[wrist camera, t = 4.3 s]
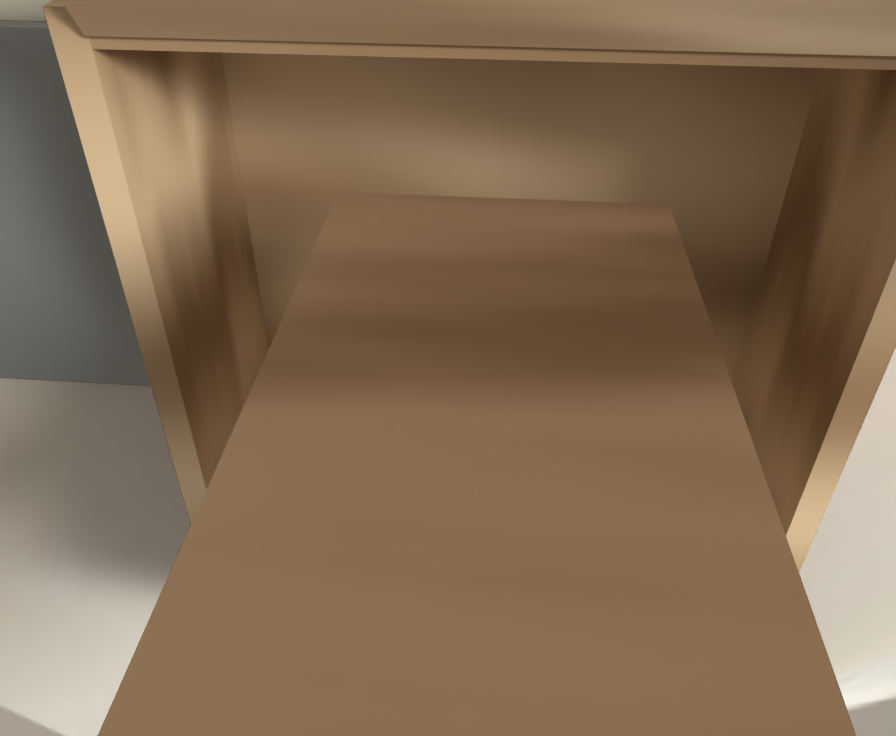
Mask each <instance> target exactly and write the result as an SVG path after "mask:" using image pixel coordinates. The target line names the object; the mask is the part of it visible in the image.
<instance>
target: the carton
mask: <svg viewBox="0 0 896 736" xmlns="http://www.w3.org/2000/svg"><path fill="white" fill-rule="evenodd" d="M43 10H44V13H45V17H46V20H47V24H48V27H49V31H50V34H51V38H52V41H53V45H54V48H55V52H56V55H57V59H58V62H59V66H60V69H61V73H62V76H63V80H64V83H65V87H66V90H67V94H68V97H69V101H70V104H71V108H72V111H73V115H74V118H75V122H76V125H77V129H78V132H79V136H80V139H81V143H82V146H83V150H84V153H85V157H86V160H87V164H88V167H89V171H90V174H91V178H92V181H93V185H94V188H95V191H96V195H97V198H98V202H99V205H100V209H101V212H102V216H103V219H104V223H105V226H106V230H107V233H108V237H109V240H110V244H111V247H112V251H113V254H114V258H115V261H116V265H117V268H118V272H119V275H120V279H121V282H122V286H123V289H124V293H125V296H126V300H127V303H128V307H129V310H130V314H131V317H132V321H133V324H134V328H135V331H136V335H137V338H138V342H139V345H140V349H141V352H142V356H143V359H144V363H145V366H146V370H147V373H148V377H149V380H150V384H151V387H152V391H153V394H154V398H155V401H156V405H157V408H158V412H159V415H160V419H161V422H162V426H163V429H164V433H165V436H166V440H167V443H168V447H169V450H170V454H171V457H172V461H173V464H174V468H175V471H176V475H177V478H178V482H179V485H180V489H181V492H182V496H183V499H184V503H185V506H186V510H187V513H188V517H189V520H190V524H192V521H193V519H194V517H195V515H196V512H197V510H198V508H199V506H200V503H201V501H202V499H203V497H204V494H205V492H206V490H207V488H208V485H209V483H210V481H211V478H212V476H213V474H214V472H215V469H216V467H217V465H218V463H219V460H220V458H221V456H222V454H223V451H224V449H225V447H226V445H227V442H228V440H229V438H230V435H231V433H232V431H233V429H234V426H235V424H236V422H237V420H238V417H239V415H240V413H241V411H242V408H243V406H244V404H245V402H246V399H247V397H248V395H249V393H250V390H251V388H252V386H253V383H254V381H255V379H256V377H257V374H258V372H259V370H260V368H261V365H262V363H263V361H264V359H265V356H266V354H267V352H268V350H269V347H270V345H271V343H272V340H273V338H274V336H275V334H276V331H277V329H278V327H279V325H280V322H281V320H282V318H283V316H284V313H285V311H286V309H287V307H288V304H289V302H290V300H291V297H292V295H293V293H294V291H295V288H296V286H297V284H298V282H299V279H300V277H301V275H302V273H303V270H304V268H305V266H306V264H307V261H308V259H309V257H310V254H311V252H312V250H313V248H314V245H315V243H316V241H317V239H318V236H319V234H320V232H321V230H322V227H323V225H324V223H325V221H326V218H327V216H328V214H329V212H330V209H331V207H332V205H333V202H334V200H335V198H336V196H337V193H338V192H347V193H373V194H400V195H427V196H454V197H481V198H508V199H535V200H562V201H588V202H615V203H642V204H669V205H670V208H671V211H672V214H673V217H674V220H675V223H676V225H677V228H678V231H679V234H680V237H681V240H682V242H683V245H684V248H685V251H686V254H687V257H688V259H689V262H690V265H691V268H692V271H693V274H694V276H695V279H696V282H697V285H698V288H699V291H700V293H701V296H702V299H703V302H704V305H705V308H706V311H707V313H708V316H709V319H710V322H711V325H712V328H713V330H714V333H715V336H716V339H717V342H718V345H719V347H720V350H721V353H722V356H723V359H724V362H725V364H726V367H727V370H728V373H729V376H730V379H731V382H732V384H733V387H734V390H735V393H736V396H737V399H738V401H739V404H740V407H741V410H742V413H743V416H744V418H745V421H746V424H747V427H748V430H749V433H750V435H751V438H752V441H753V444H754V447H755V450H756V453H757V455H758V458H759V461H760V464H761V467H762V470H763V472H764V475H765V478H766V481H767V484H768V487H769V489H770V492H771V495H772V498H773V501H774V504H775V506H776V509H777V512H778V515H779V518H780V521H781V524H782V526H783V529H784V532H785V535H786V538H787V541H788V543H789V546H790V549H791V552H792V555H793V558H794V560H795V563H796V566H797V569H798V572H799V571H800V569H801V566H802V564H803V562H804V559H805V557H806V555H807V552H808V550H809V548H810V545H811V543H812V541H813V538H814V536H815V534H816V532H817V529H818V527H819V525H820V522H821V520H822V518H823V515H824V513H825V511H826V508H827V506H828V504H829V501H830V499H831V497H832V494H833V492H834V490H835V487H836V485H837V483H838V480H839V478H840V476H841V473H842V471H843V469H844V466H845V464H846V462H847V459H848V457H849V455H850V452H851V450H852V448H853V445H854V443H855V441H856V438H857V436H858V434H859V431H860V429H861V427H862V424H863V422H864V420H865V417H866V415H867V413H868V410H869V408H870V406H871V403H872V401H873V399H874V396H875V394H876V392H877V389H878V387H879V385H880V383H881V380H882V378H883V376H884V373H885V371H886V369H887V366H888V364H889V362H890V359H891V357H892V355H893V352H894V350H895V348H896V0H55V1H53V2H50V3H48V4H46V5H44V6H43Z"/></svg>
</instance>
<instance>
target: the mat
mask: <svg viewBox="0 0 896 736" xmlns="http://www.w3.org/2000/svg"><path fill="white" fill-rule="evenodd" d="M0 378H11V379H30V380H49V381H68V382H87V383H106V384H125V385H144V386H151V384H150V380H149V377H148V373H147V370H146V366H145V363H144V359H143V356H142V352H141V349H140V345H139V342H138V338H137V335H136V331H135V328H134V324H133V321H132V317H131V314H130V310H129V307H128V303H127V300H126V296H125V293H124V289H123V286H122V282H121V279H120V275H119V272H118V268H117V265H116V261H115V258H114V254H113V251H112V247H111V244H110V240H109V237H108V233H107V230H106V226H105V223H104V219H103V216H102V212H101V209H100V205H99V202H98V198H97V195H96V191H95V188H94V185H93V181H92V178H91V174H90V171H89V167H88V164H87V160H86V157H85V153H84V150H83V146H82V143H81V139H80V136H79V132H78V129H77V125H76V122H75V118H74V115H73V111H72V108H71V104H70V101H69V97H68V94H67V90H66V87H65V83H64V80H63V76H62V73H61V69H60V66H59V62H58V59H57V55H56V52H55V48H54V45H53V41H52V38H51V34H50V31H49V27H48V24H47V21H9V20H0Z"/></svg>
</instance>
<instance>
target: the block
mask: <svg viewBox="0 0 896 736" xmlns="http://www.w3.org/2000/svg"><path fill="white" fill-rule="evenodd" d="M98 736H856V734H855V731H854V728H853V725H852V723H851V720H850V717H849V714H848V711H847V708H846V705H845V702H844V700H843V697H842V694H841V691H840V688H839V685H838V683H837V680H836V677H835V674H834V671H833V668H832V666H831V663H830V660H829V657H828V654H827V651H826V648H825V646H824V643H823V640H822V637H821V634H820V631H819V629H818V626H817V623H816V620H815V617H814V614H813V612H812V609H811V606H810V603H809V600H808V597H807V595H806V592H805V589H804V586H803V583H802V580H801V577H800V575H799V572H798V569H797V566H796V563H795V560H794V558H793V555H792V552H791V549H790V546H789V543H788V541H787V538H786V535H785V532H784V529H783V526H782V524H781V521H780V518H779V515H778V512H777V509H776V506H775V504H774V501H773V498H772V495H771V492H770V489H769V487H768V484H767V481H766V478H765V475H764V472H763V470H762V467H761V464H760V461H759V458H758V455H757V453H756V450H755V447H754V444H753V441H752V438H751V435H750V433H749V430H748V427H747V424H746V421H745V418H744V416H743V413H742V410H741V407H740V404H739V401H738V399H737V396H736V393H735V390H734V387H733V384H732V382H731V379H730V376H729V373H728V370H727V367H726V364H725V362H724V359H723V356H722V353H721V350H720V347H719V345H718V342H717V339H716V336H715V333H714V330H713V328H712V325H711V322H710V319H709V316H708V313H707V311H706V308H705V305H704V302H703V299H702V296H701V293H700V291H699V288H698V285H697V282H696V279H695V276H694V274H693V271H692V268H691V265H690V262H689V259H688V257H687V254H686V251H685V248H684V245H683V242H682V240H681V237H680V234H679V231H678V228H677V225H676V223H675V220H674V217H673V214H672V211H671V208H670V205H669V204H642V203H615V202H588V201H562V200H535V199H508V198H481V197H454V196H427V195H400V194H373V193H347V192H338V193H337V196H336V198H335V200H334V202H333V205H332V207H331V209H330V212H329V214H328V216H327V218H326V221H325V223H324V225H323V227H322V230H321V232H320V234H319V236H318V239H317V241H316V243H315V245H314V248H313V250H312V252H311V254H310V257H309V259H308V261H307V264H306V266H305V268H304V270H303V273H302V275H301V277H300V279H299V282H298V284H297V286H296V288H295V291H294V293H293V295H292V297H291V300H290V302H289V304H288V307H287V309H286V311H285V313H284V316H283V318H282V320H281V322H280V325H279V327H278V329H277V331H276V334H275V336H274V338H273V340H272V343H271V345H270V347H269V350H268V352H267V354H266V356H265V359H264V361H263V363H262V365H261V368H260V370H259V372H258V374H257V377H256V379H255V381H254V383H253V386H252V388H251V390H250V393H249V395H248V397H247V399H246V402H245V404H244V406H243V408H242V411H241V413H240V415H239V417H238V420H237V422H236V424H235V426H234V429H233V431H232V433H231V435H230V438H229V440H228V442H227V445H226V447H225V449H224V451H223V454H222V456H221V458H220V460H219V463H218V465H217V467H216V469H215V472H214V474H213V476H212V478H211V481H210V483H209V485H208V488H207V490H206V492H205V494H204V497H203V499H202V501H201V503H200V506H199V508H198V510H197V512H196V515H195V517H194V519H193V521H192V524H191V526H190V528H189V531H188V533H187V535H186V537H185V540H184V542H183V544H182V546H181V549H180V551H179V553H178V555H177V558H176V560H175V562H174V564H173V567H172V569H171V571H170V573H169V576H168V578H167V580H166V583H165V585H164V587H163V589H162V592H161V594H160V596H159V598H158V601H157V603H156V605H155V607H154V610H153V612H152V614H151V616H150V619H149V621H148V623H147V626H146V628H145V630H144V632H143V635H142V637H141V639H140V641H139V644H138V646H137V648H136V650H135V653H134V655H133V657H132V659H131V662H130V664H129V666H128V669H127V671H126V673H125V675H124V678H123V680H122V682H121V684H120V687H119V689H118V691H117V693H116V696H115V698H114V700H113V702H112V705H111V707H110V709H109V711H108V714H107V716H106V718H105V721H104V723H103V725H102V727H101V730H100V732H99V734H98Z"/></svg>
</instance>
